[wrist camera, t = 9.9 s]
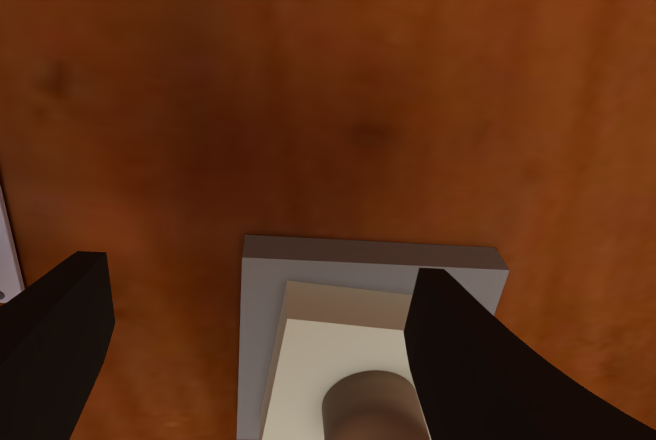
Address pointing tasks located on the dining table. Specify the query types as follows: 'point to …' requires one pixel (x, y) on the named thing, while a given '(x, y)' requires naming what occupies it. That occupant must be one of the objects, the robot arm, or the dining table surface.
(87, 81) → the dining table surface
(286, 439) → the tower top
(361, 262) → the tower base
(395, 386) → the walnut cylinder
